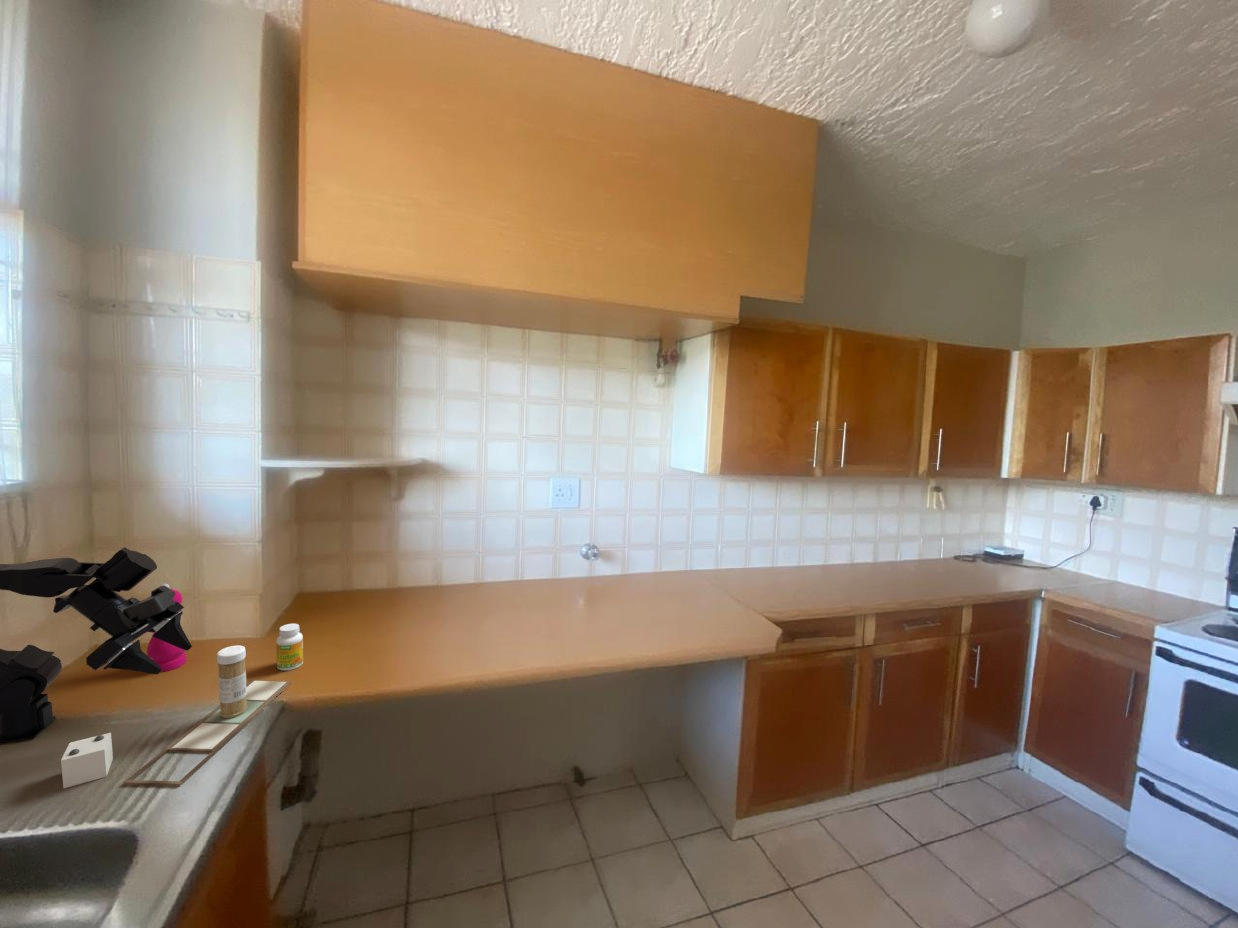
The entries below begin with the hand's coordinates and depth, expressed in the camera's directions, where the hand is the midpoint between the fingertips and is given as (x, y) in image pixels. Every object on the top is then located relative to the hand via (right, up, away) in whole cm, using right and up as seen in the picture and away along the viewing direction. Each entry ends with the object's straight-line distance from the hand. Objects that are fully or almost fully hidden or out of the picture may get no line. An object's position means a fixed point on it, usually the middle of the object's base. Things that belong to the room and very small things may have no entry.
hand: (175, 659), depth 101 cm
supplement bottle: (+9, -10, +21) cm, 25 cm away
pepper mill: (-17, -8, +18) cm, 26 cm away
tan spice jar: (+11, -11, +2) cm, 16 cm away
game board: (+11, -12, -2) cm, 16 cm away
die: (-1, -13, -15) cm, 20 cm away
